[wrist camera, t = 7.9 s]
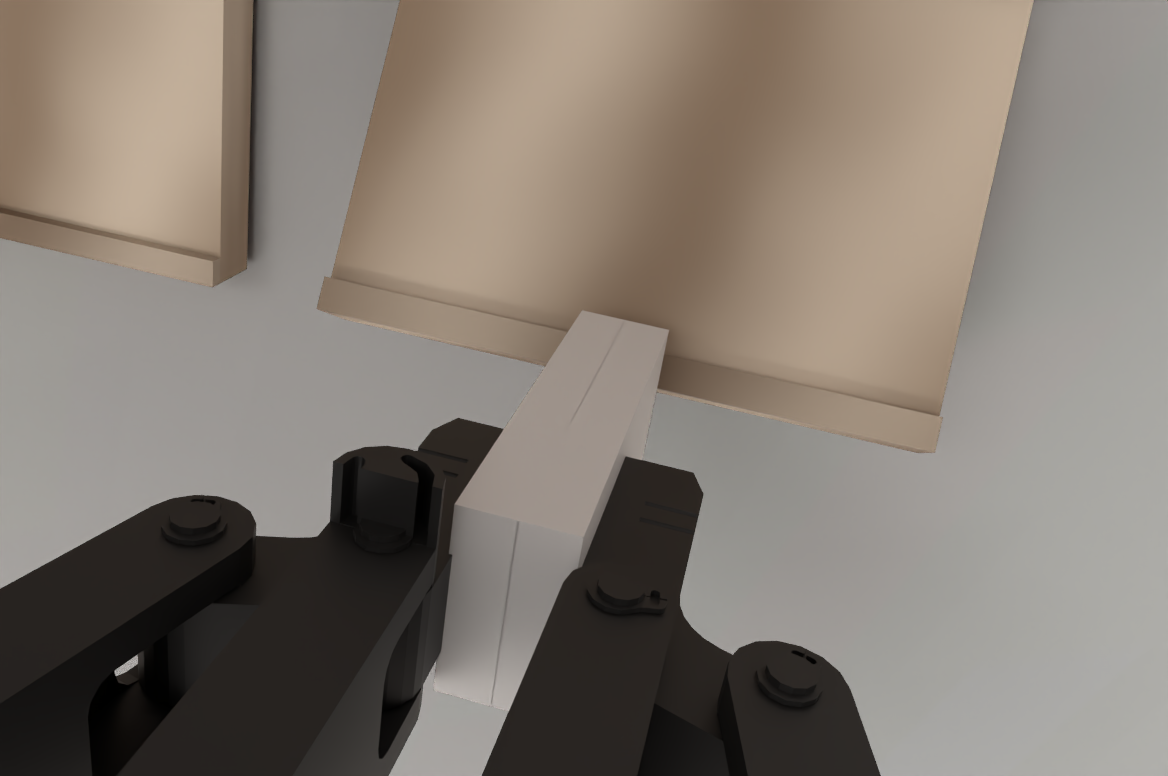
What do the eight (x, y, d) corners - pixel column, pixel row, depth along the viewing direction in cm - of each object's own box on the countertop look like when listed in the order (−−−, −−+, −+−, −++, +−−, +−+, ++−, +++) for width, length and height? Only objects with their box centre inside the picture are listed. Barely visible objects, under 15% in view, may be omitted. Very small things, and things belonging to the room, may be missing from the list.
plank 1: (-165, 174, 26) (-220, 186, 24) (-216, -190, 22) (-283, -200, 21) (246, 268, 24) (212, 287, 23) (256, -106, 21) (216, -110, 20)
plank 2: (345, 319, 20) (316, 308, 19) (443, -76, 20) (422, -117, 19) (917, 452, 19) (934, 453, 17) (1014, 26, 19) (1039, -11, 18)
